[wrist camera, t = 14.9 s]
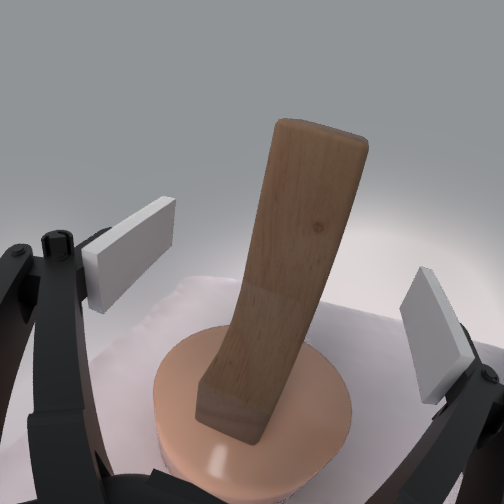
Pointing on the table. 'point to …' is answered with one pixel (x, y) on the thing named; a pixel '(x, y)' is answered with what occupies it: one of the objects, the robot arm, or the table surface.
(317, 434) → the peach disc
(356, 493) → the table surface
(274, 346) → the wooden block
